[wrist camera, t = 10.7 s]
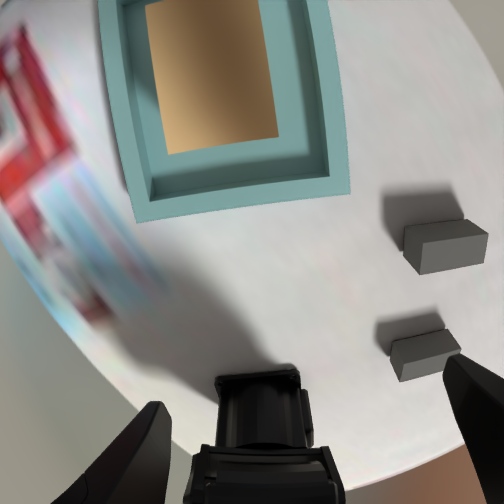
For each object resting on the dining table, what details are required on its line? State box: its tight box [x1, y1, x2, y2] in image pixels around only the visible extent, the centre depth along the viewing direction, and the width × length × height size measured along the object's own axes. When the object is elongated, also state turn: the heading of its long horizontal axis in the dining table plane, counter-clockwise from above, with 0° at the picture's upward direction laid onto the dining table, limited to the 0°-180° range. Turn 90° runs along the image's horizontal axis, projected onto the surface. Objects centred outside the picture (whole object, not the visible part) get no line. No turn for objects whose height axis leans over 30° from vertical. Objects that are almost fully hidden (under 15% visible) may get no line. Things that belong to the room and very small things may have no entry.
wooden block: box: [145, 0, 279, 155], centre depth 12 cm, size 4×6×5 cm, turn 8°
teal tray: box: [98, 0, 350, 223], centre depth 14 cm, size 11×13×2 cm
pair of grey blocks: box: [390, 219, 488, 382], centre depth 19 cm, size 5×11×2 cm, turn 8°
